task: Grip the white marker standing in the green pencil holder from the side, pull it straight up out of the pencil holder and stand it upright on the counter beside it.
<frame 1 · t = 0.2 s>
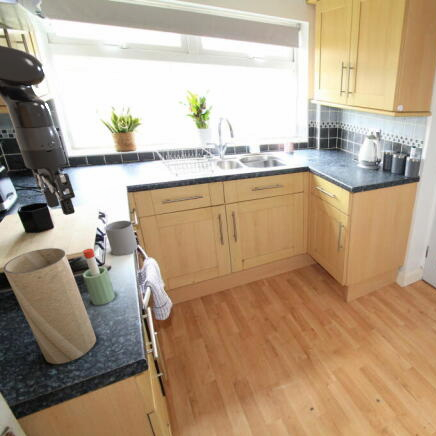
hand: (61, 210, 81), 29 cm above the worktop, tool pointing down, fingers open, 8 cm apart
cup: (125, 249, 120), on the worktop
marker: (103, 297, 94), point 1 cm above the worktop, touching green pencil holder
green pencil holder: (103, 298, 94), on the worktop
tube: (71, 347, 78), on the worktop
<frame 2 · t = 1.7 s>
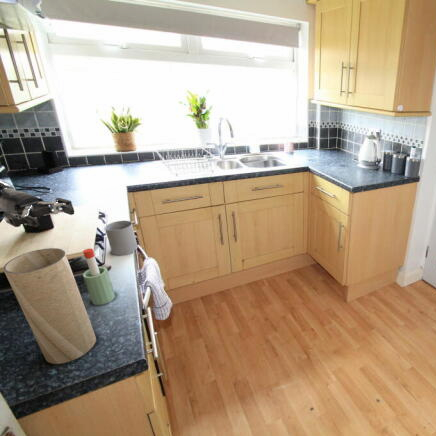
hand: (55, 216, 88), 24 cm above the worktop, tool horizontal, fingers open, 8 cm apart
nothing on the worktop moved.
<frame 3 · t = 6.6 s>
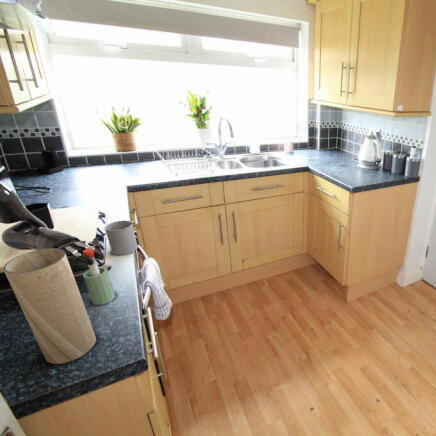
hand: (97, 259, 87), 15 cm above the worktop, tool horizontal, fingers closed on marker, 2 cm apart
marker: (103, 297, 94), point 1 cm above the worktop, touching gripper, green pencil holder
everything else where it was.
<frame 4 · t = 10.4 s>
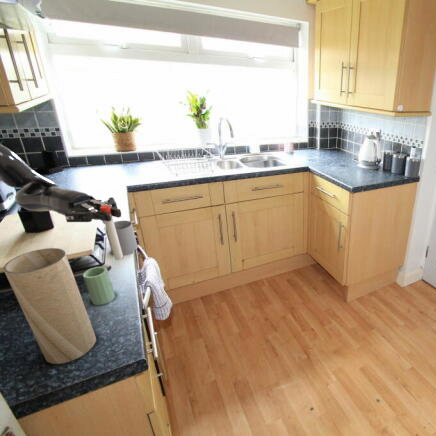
hand: (114, 215, 84), 27 cm above the worktop, tool horizontal, fingers closed on marker
marker: (119, 258, 91), point 13 cm above the worktop, touching gripper
everything else where it was.
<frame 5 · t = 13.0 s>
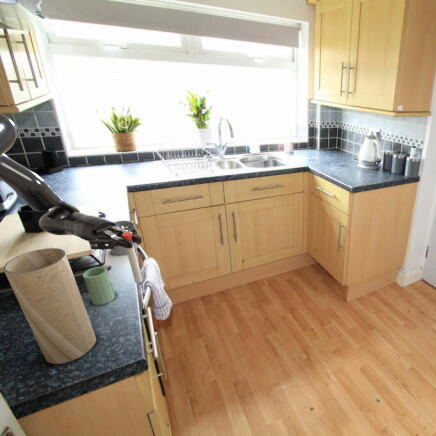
hand: (135, 242, 89), 18 cm above the worktop, tool horizontal, fingers closed on marker
marker: (138, 280, 96), point 4 cm above the worktop, touching gripper
everything else where it was.
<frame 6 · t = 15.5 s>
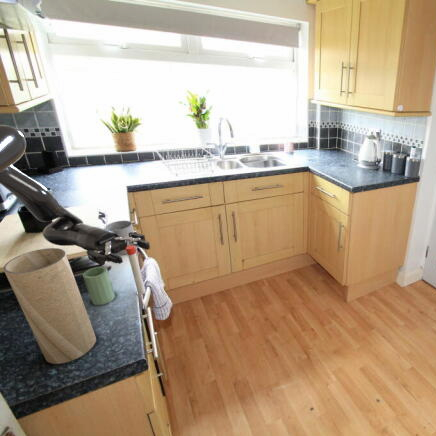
hand: (135, 253, 90), 15 cm above the worktop, tool horizontal, fingers open, 8 cm apart
marker: (141, 292, 97), on the worktop
everything else where it was.
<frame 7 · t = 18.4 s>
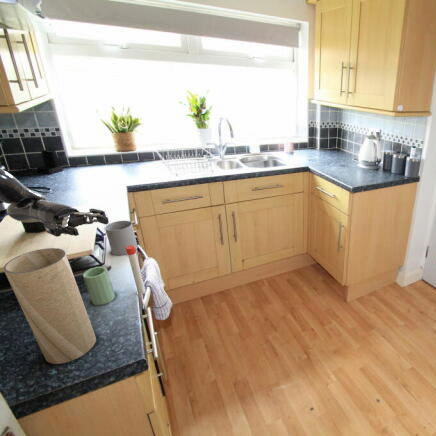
hand: (92, 226, 93), 20 cm above the worktop, tool horizontal, fingers open, 8 cm apart
nothing on the worktop moved.
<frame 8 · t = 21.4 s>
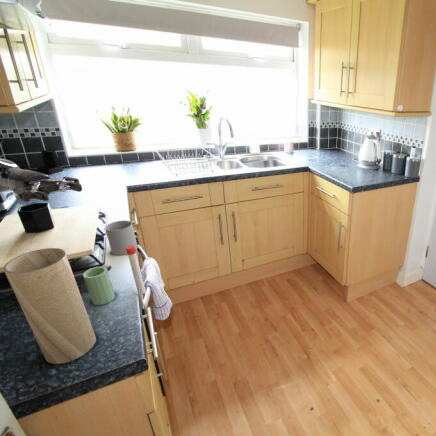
hand: (64, 192, 89), 30 cm above the worktop, tool horizontal, fingers open, 8 cm apart
nothing on the worktop moved.
at the end: marker inside the target area (0.1 cm from its centre), on the worktop; the gripper is holding nothing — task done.
